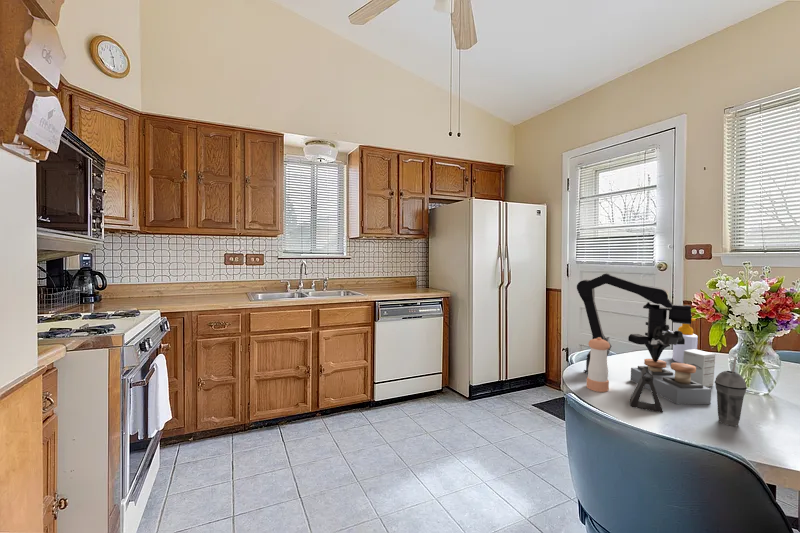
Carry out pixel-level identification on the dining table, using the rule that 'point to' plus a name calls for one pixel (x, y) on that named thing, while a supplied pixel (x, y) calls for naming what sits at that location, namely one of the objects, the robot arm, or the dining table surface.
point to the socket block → (674, 387)
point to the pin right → (683, 372)
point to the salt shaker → (598, 366)
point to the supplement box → (701, 366)
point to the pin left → (655, 365)
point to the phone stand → (638, 390)
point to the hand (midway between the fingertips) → (655, 361)
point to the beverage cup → (730, 396)
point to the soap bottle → (689, 342)
